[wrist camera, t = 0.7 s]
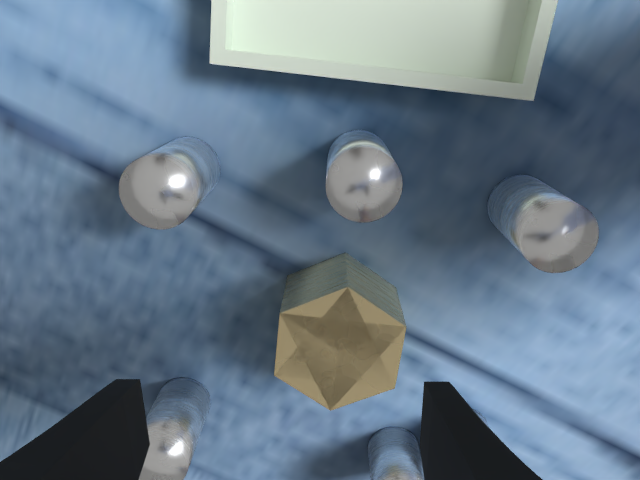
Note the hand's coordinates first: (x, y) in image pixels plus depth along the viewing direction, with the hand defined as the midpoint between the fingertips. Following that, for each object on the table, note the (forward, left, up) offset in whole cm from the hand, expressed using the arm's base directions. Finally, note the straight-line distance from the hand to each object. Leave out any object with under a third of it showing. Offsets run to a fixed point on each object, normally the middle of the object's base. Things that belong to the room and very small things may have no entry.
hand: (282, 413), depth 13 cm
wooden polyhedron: (-2, +2, -9) cm, 9 cm away
